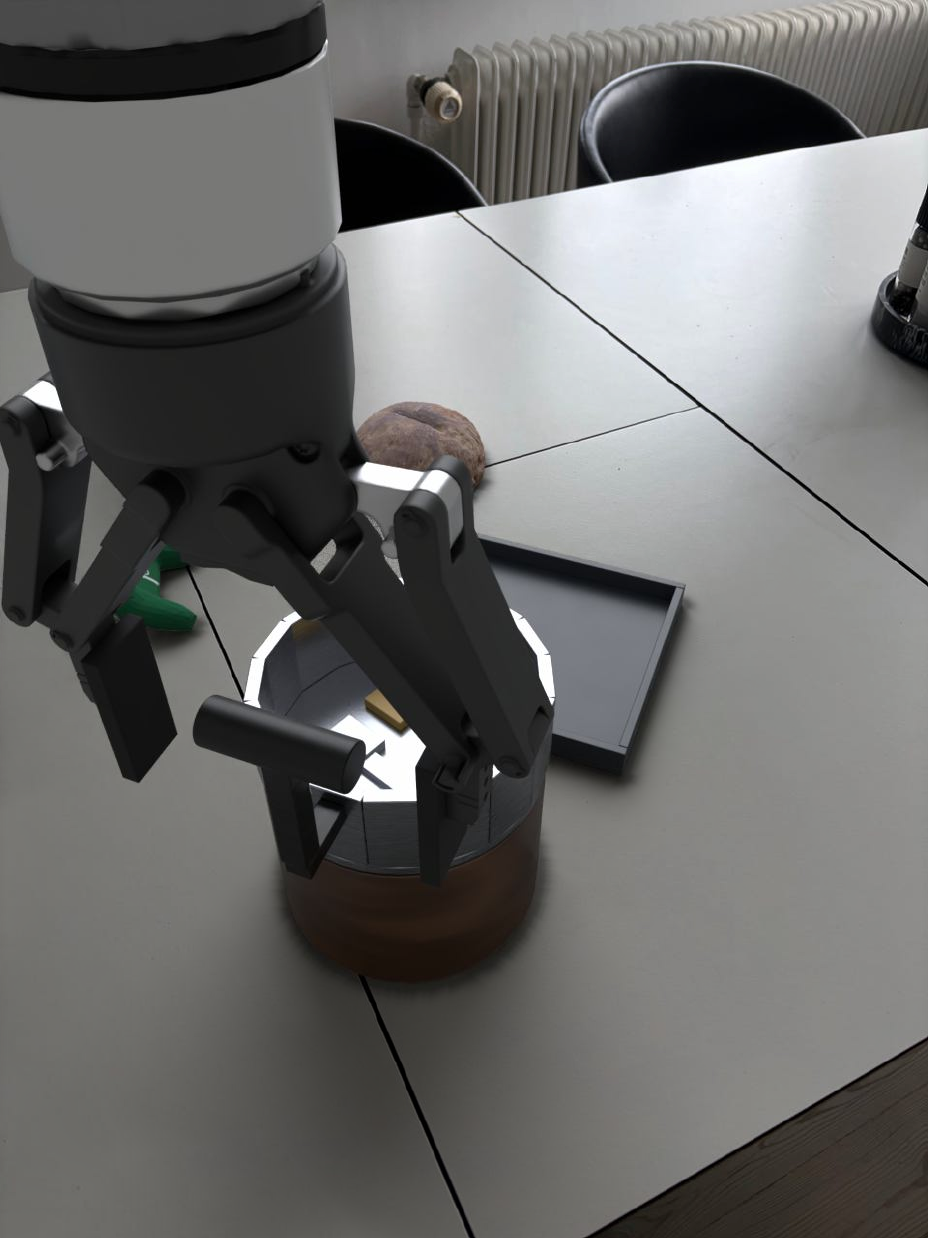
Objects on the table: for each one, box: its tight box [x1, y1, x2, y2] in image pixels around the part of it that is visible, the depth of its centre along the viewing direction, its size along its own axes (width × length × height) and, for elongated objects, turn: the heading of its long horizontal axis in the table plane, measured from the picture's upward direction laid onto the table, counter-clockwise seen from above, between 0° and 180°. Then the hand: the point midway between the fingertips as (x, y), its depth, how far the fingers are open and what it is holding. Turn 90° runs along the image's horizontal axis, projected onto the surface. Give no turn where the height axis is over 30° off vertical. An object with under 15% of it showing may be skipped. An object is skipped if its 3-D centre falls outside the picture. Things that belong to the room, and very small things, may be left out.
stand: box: [263, 773, 547, 984], centre depth 54 cm, size 14×14×10 cm
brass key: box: [365, 689, 407, 731], centre depth 51 cm, size 7×3×1 cm, turn 49°
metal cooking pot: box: [192, 577, 556, 880], centre depth 45 cm, size 18×14×13 cm
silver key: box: [330, 715, 416, 789], centre depth 49 cm, size 7×3×1 cm, turn 49°
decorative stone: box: [356, 401, 486, 491], centre depth 85 cm, size 12×12×6 cm
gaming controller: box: [114, 545, 198, 632], centre depth 74 cm, size 9×4×6 cm
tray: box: [476, 532, 687, 776], centre depth 70 cm, size 17×19×2 cm
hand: (291, 803), depth 39 cm, fingers open, 12 cm apart
